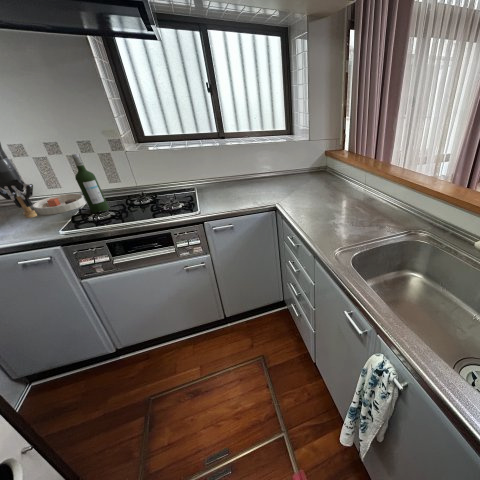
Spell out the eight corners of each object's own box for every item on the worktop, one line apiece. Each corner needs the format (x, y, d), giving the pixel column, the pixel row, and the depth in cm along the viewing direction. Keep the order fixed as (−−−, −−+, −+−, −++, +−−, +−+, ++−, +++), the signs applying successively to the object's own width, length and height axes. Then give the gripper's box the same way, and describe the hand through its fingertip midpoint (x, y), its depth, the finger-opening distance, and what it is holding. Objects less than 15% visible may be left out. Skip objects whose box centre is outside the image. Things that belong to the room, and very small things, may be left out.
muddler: (23, 218, 124) (10, 198, 119) (29, 215, 127) (16, 195, 122) (34, 217, 125) (21, 197, 120) (39, 214, 128) (27, 194, 123)
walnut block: (67, 207, 147) (64, 201, 145) (71, 205, 150) (68, 199, 148) (75, 207, 148) (72, 201, 146) (78, 204, 151) (75, 199, 149)
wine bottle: (103, 206, 150) (78, 152, 134) (112, 208, 147) (88, 153, 132) (88, 212, 143) (60, 155, 128) (98, 214, 141) (71, 156, 126)
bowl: (27, 218, 137) (22, 210, 135) (50, 203, 155) (46, 196, 153) (76, 213, 143) (72, 205, 140) (92, 199, 160) (89, 192, 158)
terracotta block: (49, 206, 148) (46, 201, 147) (53, 204, 151) (50, 198, 150) (57, 206, 149) (54, 200, 147) (60, 203, 152) (57, 198, 150)
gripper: (27, 165, 120) (48, 201, 128) (-12, 168, 116) (12, 205, 125) (16, 170, 113) (39, 207, 122) (-25, 173, 110) (1, 211, 119)
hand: (25, 206), depth 124 cm, fingers closed on muddler, 2 cm apart
